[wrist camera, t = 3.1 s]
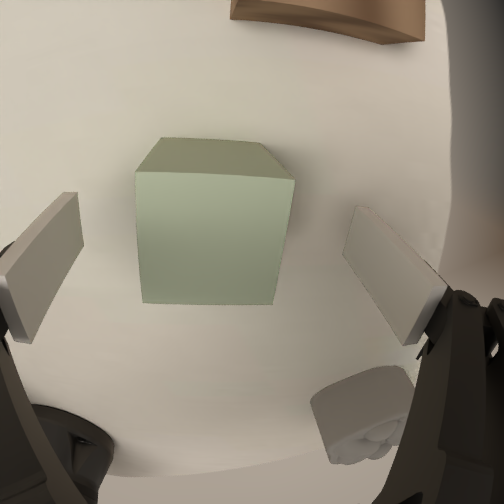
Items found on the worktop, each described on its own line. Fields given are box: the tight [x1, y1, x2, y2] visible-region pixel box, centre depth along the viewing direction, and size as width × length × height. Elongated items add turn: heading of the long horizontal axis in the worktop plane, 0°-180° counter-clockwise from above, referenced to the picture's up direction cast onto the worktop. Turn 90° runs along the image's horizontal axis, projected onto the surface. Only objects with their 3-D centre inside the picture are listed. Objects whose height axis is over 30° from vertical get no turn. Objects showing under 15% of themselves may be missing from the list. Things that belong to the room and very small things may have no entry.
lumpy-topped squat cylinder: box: [310, 366, 415, 465], centre depth 32 cm, size 10×13×9 cm
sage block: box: [135, 138, 296, 305], centre depth 16 cm, size 6×6×8 cm
